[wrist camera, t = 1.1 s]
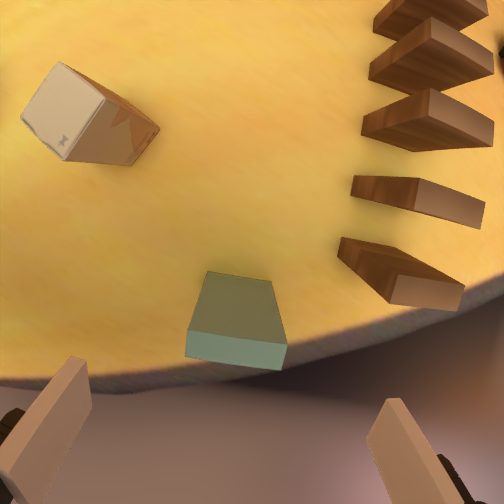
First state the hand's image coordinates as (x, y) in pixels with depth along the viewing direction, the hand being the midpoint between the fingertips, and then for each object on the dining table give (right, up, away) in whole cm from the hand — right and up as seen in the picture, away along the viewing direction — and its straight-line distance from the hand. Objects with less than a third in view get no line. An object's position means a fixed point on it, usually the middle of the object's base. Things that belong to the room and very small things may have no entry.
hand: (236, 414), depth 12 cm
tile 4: (+14, +23, +12) cm, 29 cm away
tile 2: (+12, +12, +14) cm, 22 cm away
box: (-10, +17, +13) cm, 24 cm away
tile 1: (+11, +7, +16) cm, 20 cm away
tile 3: (+13, +17, +13) cm, 25 cm away
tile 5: (+15, +28, +11) cm, 33 cm away
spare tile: (-1, +4, +16) cm, 16 cm away
